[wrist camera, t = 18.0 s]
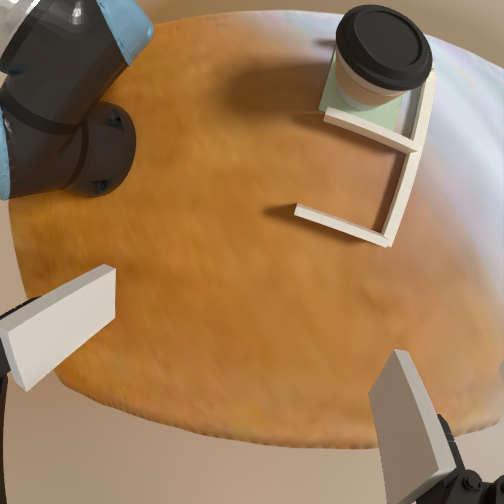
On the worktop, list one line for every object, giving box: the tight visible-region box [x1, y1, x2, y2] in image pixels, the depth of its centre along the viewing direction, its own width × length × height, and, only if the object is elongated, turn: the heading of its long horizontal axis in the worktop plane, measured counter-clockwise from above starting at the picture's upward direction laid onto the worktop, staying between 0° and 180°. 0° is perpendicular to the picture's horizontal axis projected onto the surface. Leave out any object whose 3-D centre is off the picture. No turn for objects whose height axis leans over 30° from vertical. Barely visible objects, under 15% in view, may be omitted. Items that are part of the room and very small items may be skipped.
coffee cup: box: [335, 5, 433, 111], centre depth 22 cm, size 9×9×15 cm
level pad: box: [318, 49, 402, 132], centre depth 29 cm, size 10×10×1 cm
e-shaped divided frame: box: [294, 62, 437, 248], centre depth 29 cm, size 13×25×4 cm, turn 163°
